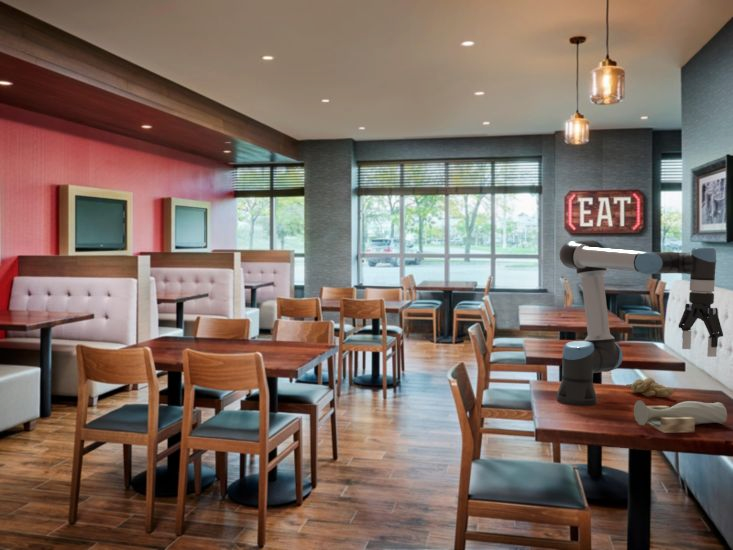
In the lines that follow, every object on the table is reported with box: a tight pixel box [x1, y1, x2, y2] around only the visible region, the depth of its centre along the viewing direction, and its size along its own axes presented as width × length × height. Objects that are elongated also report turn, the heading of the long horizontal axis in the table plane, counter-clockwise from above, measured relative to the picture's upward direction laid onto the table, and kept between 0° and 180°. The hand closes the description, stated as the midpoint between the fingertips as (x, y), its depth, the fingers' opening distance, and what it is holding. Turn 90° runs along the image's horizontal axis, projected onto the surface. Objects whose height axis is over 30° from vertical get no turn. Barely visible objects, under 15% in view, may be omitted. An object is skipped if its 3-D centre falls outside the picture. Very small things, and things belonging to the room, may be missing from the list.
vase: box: [633, 400, 728, 426], centre depth 213 cm, size 9×8×30 cm
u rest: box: [645, 405, 696, 434], centre depth 212 cm, size 11×16×5 cm
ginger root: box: [625, 377, 675, 398], centre depth 255 cm, size 16×16×8 cm
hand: (698, 352), depth 212 cm, fingers open, 13 cm apart
